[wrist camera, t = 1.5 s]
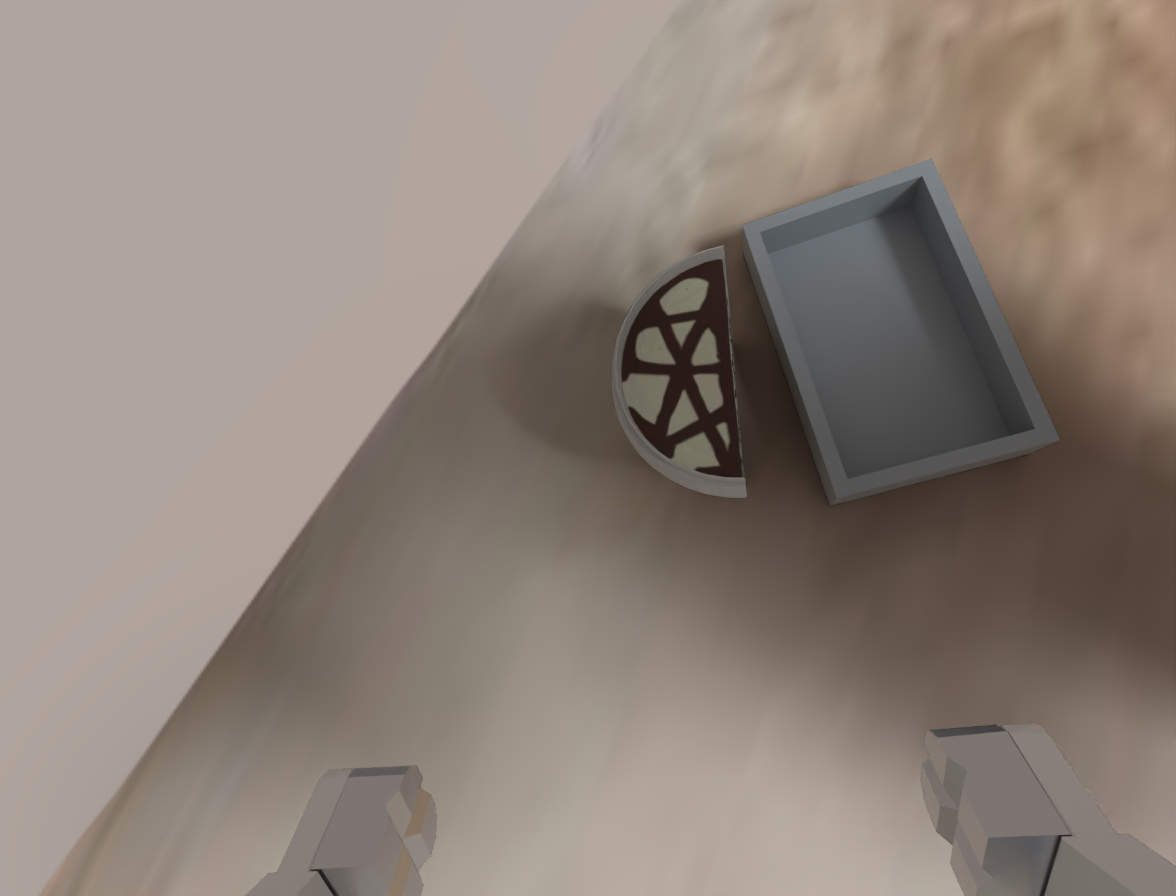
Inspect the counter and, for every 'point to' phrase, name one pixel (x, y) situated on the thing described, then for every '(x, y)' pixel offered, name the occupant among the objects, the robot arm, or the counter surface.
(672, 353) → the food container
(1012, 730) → the robot arm
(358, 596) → the counter surface
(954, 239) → the tray
